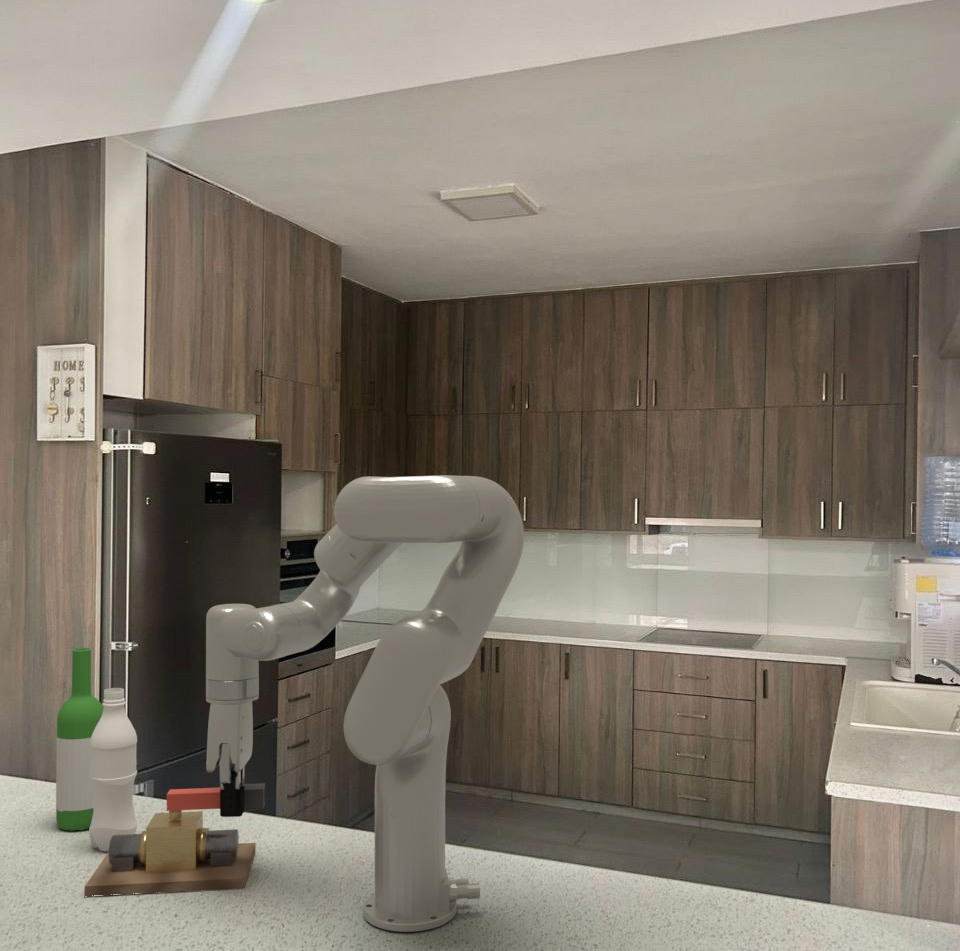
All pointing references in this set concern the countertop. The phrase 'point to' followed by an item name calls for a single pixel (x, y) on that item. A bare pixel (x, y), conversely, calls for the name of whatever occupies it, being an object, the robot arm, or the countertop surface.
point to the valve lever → (211, 799)
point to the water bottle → (112, 772)
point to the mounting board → (172, 877)
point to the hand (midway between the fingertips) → (232, 814)
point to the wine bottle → (76, 748)
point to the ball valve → (173, 845)
